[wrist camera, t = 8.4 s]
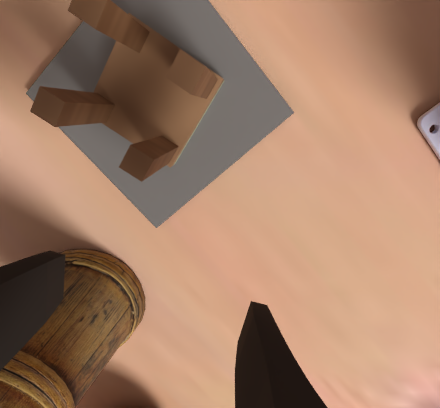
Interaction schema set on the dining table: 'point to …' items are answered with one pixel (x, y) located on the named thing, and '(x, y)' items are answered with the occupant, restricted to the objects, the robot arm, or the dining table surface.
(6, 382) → the wooden mug
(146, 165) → the stool
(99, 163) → the mat
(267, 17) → the dining table surface
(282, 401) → the robot arm
